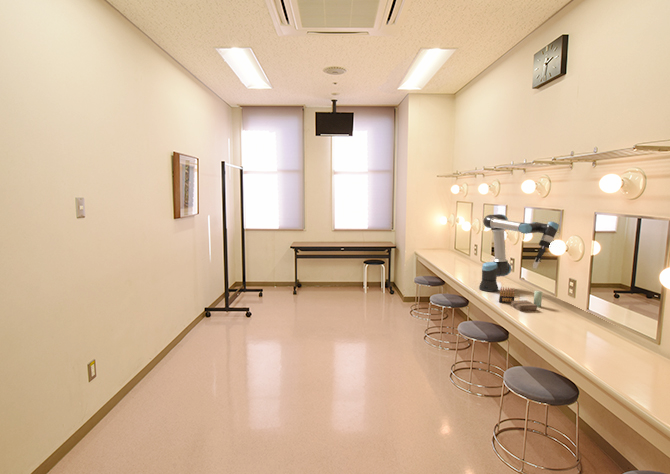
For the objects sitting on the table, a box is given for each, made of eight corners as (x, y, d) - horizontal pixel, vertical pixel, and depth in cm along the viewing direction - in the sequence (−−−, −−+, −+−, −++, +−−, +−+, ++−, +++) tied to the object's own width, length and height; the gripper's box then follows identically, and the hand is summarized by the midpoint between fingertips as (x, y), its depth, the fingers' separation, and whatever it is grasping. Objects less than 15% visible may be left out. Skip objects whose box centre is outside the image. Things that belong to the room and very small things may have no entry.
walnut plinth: (510, 305, 265) (511, 300, 264) (526, 305, 266) (526, 300, 265) (520, 311, 253) (520, 305, 253) (536, 310, 254) (536, 305, 253)
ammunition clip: (513, 302, 273) (514, 287, 272) (514, 303, 271) (515, 287, 270) (498, 302, 275) (499, 286, 273) (499, 302, 273) (500, 287, 271)
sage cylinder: (531, 305, 266) (532, 290, 265) (538, 305, 267) (539, 290, 265) (536, 307, 261) (537, 292, 260) (542, 307, 262) (543, 292, 260)
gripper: (552, 240, 256) (539, 267, 256) (550, 246, 277) (539, 271, 278) (540, 236, 260) (528, 263, 260) (540, 242, 281) (529, 267, 281)
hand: (534, 267), depth 269 cm, fingers open, 13 cm apart
